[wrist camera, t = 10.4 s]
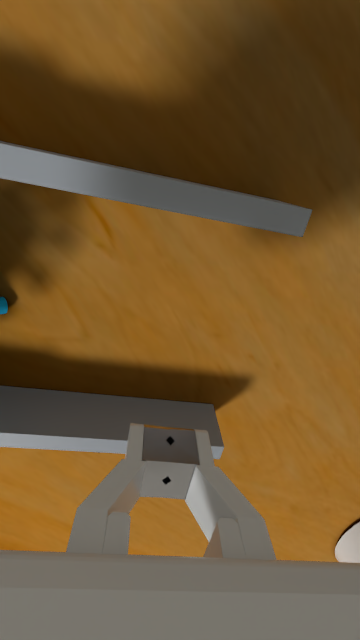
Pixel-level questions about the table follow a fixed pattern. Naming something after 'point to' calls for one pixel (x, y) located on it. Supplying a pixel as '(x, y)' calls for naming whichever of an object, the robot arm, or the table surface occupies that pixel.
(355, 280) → the table surface
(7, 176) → the bay
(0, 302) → the gear
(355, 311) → the table surface
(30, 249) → the table surface
